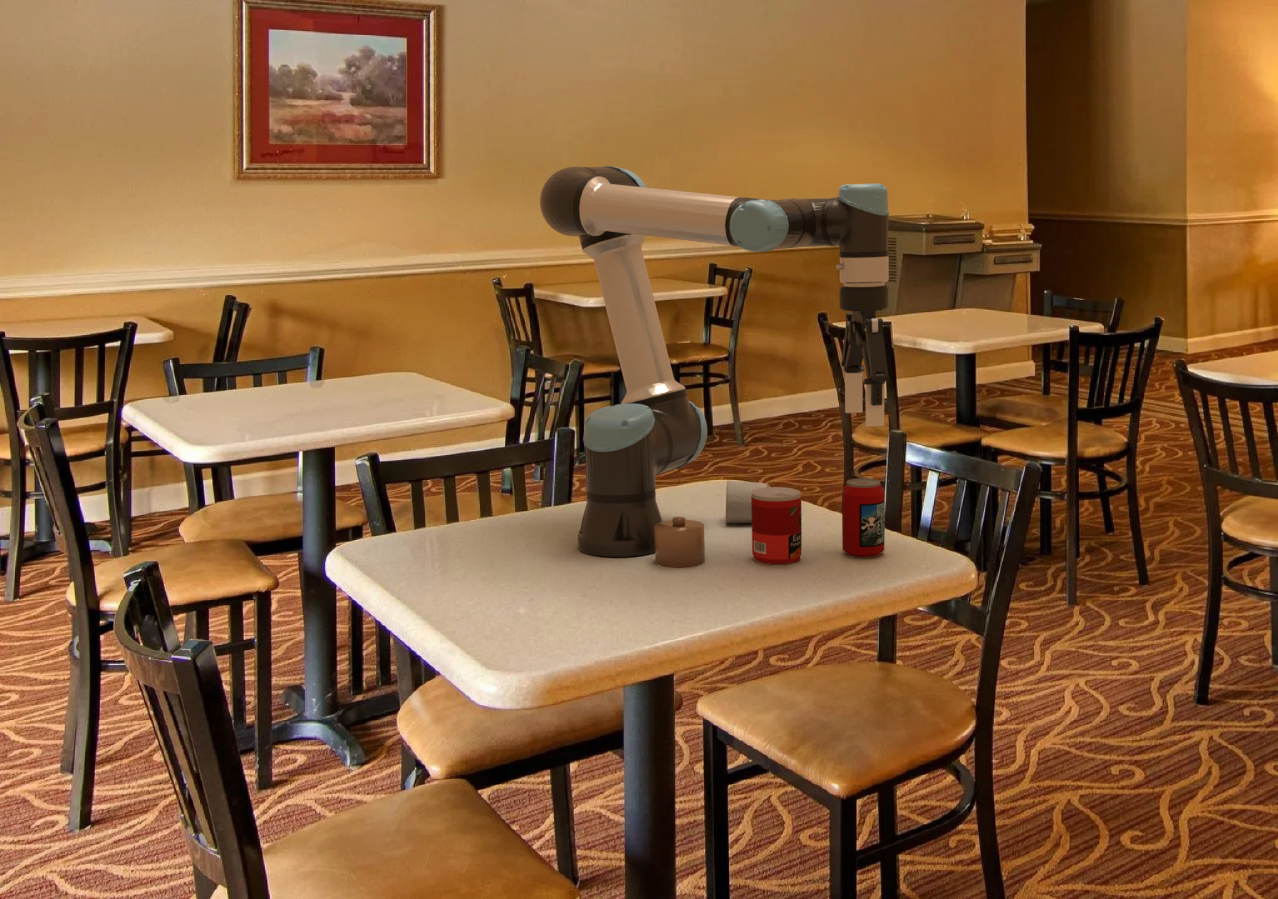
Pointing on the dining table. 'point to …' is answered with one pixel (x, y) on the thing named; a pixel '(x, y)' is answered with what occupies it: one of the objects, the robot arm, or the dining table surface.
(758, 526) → the canned food
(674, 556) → the sugar bowl
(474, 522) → the dining table surface
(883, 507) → the beverage can
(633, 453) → the robot arm
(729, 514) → the ceramic mug
